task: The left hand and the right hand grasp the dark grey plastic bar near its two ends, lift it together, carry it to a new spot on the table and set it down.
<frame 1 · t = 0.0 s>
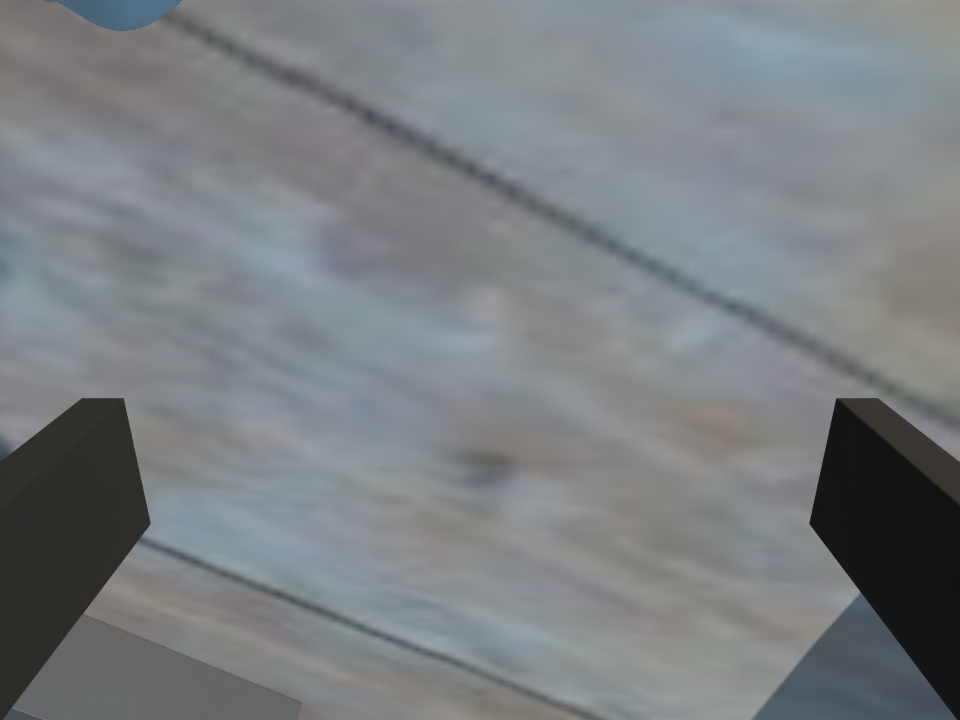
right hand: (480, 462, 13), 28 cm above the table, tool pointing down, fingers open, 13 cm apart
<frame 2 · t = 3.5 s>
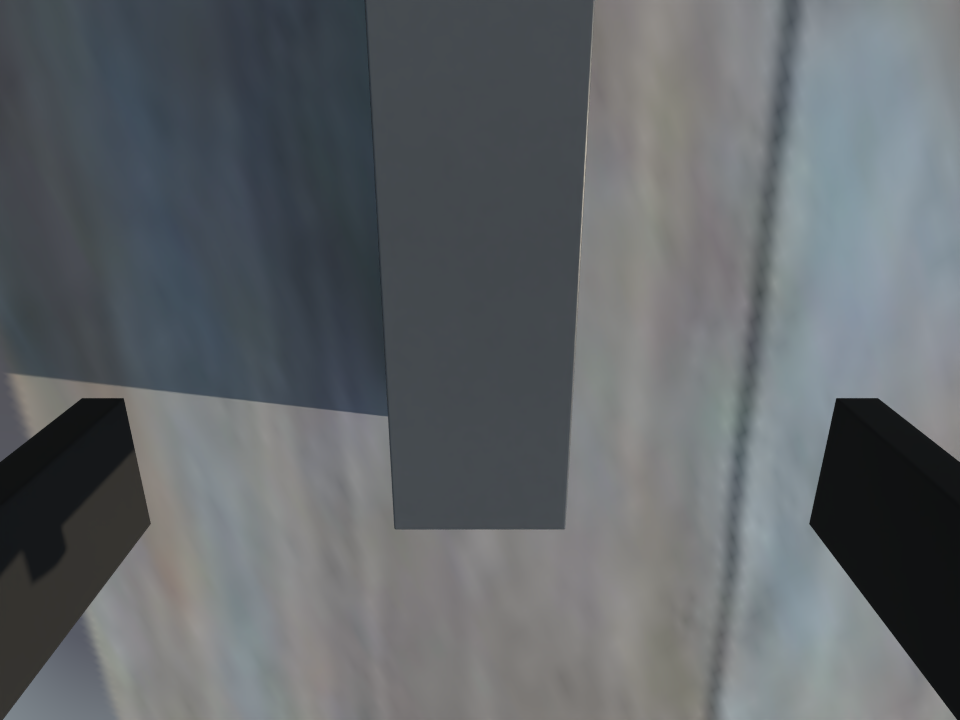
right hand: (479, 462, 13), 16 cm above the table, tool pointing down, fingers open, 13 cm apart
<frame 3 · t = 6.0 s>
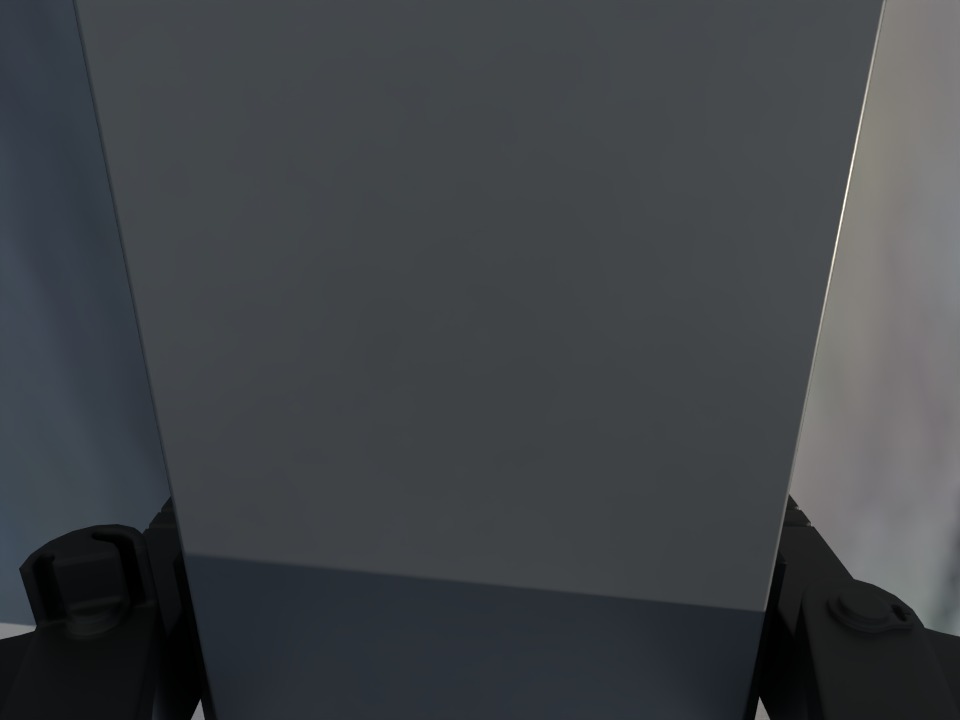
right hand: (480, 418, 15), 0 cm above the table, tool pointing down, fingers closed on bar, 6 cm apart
when the left hand's fingers open (2 cm above the table, at t = 10.0 s): bar drops 2 cm, on the table.
when the right hand's fingers open (2 cm above the table, at t = 10.0 s): bar drops 2 cm, on the table.
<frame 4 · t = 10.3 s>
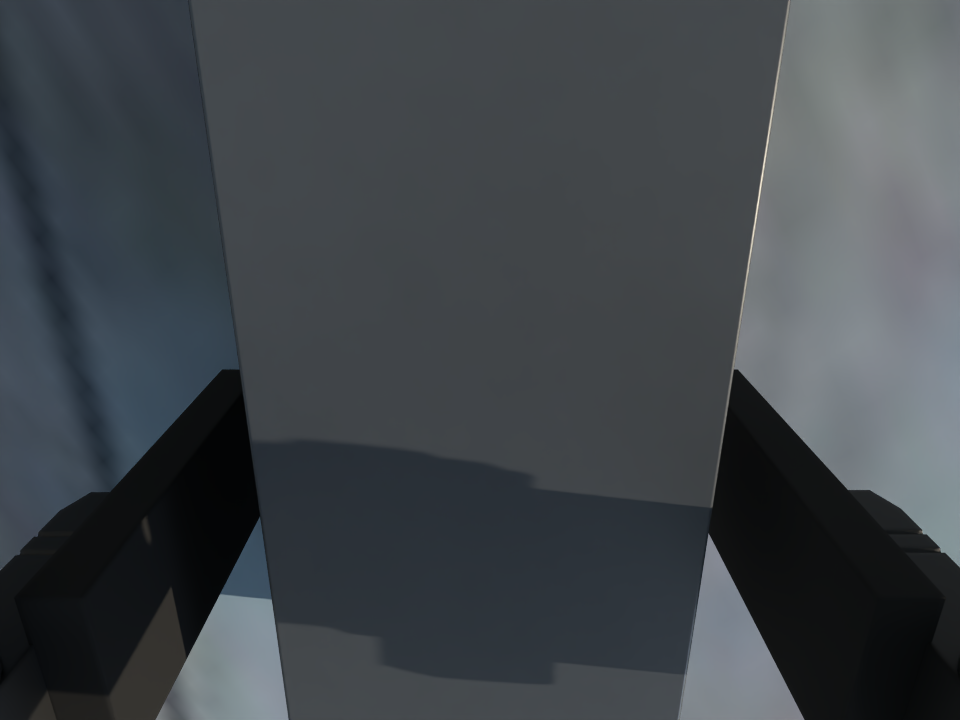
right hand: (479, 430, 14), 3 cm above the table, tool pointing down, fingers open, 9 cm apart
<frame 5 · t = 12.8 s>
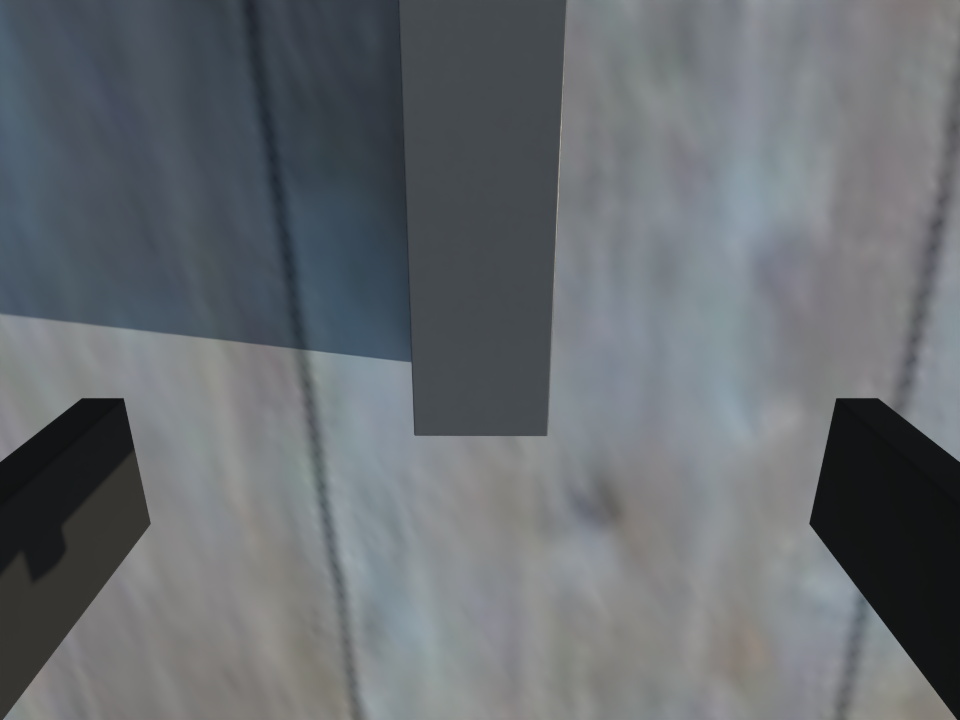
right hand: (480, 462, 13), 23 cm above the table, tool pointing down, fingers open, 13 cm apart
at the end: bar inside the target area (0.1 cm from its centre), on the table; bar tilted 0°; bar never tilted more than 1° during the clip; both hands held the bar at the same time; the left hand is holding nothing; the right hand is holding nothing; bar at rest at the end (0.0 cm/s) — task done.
